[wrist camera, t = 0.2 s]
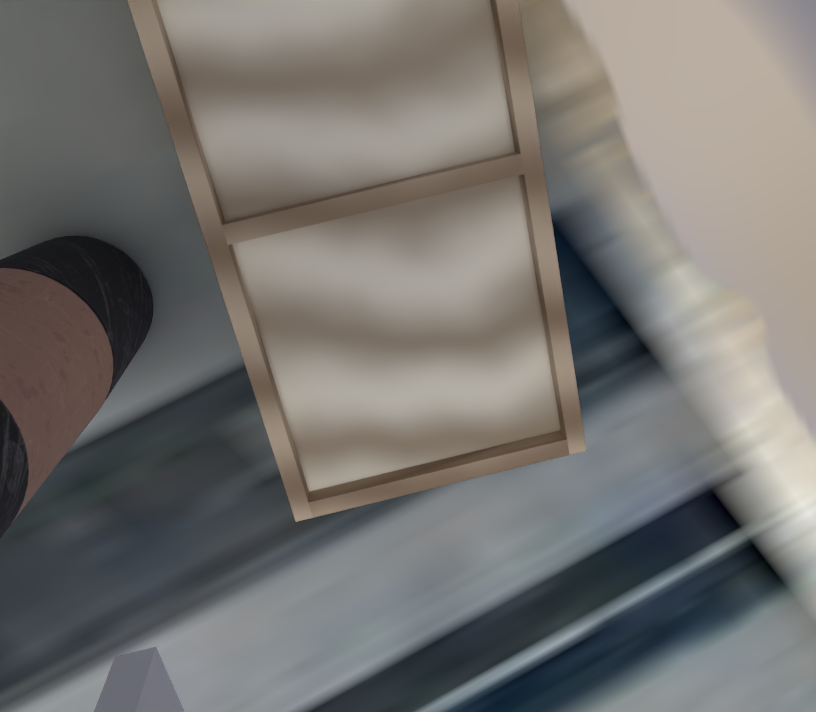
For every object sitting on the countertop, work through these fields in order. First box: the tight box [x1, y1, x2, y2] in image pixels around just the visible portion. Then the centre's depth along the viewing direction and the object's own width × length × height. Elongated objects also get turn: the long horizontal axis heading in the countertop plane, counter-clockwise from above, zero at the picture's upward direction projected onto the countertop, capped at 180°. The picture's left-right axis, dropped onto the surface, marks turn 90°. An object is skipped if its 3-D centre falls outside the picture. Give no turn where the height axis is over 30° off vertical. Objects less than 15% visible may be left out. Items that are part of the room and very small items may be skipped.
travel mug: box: [0, 236, 153, 538], centre depth 29 cm, size 8×8×20 cm
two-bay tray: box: [127, 0, 587, 522], centre depth 37 cm, size 33×17×2 cm, turn 13°
